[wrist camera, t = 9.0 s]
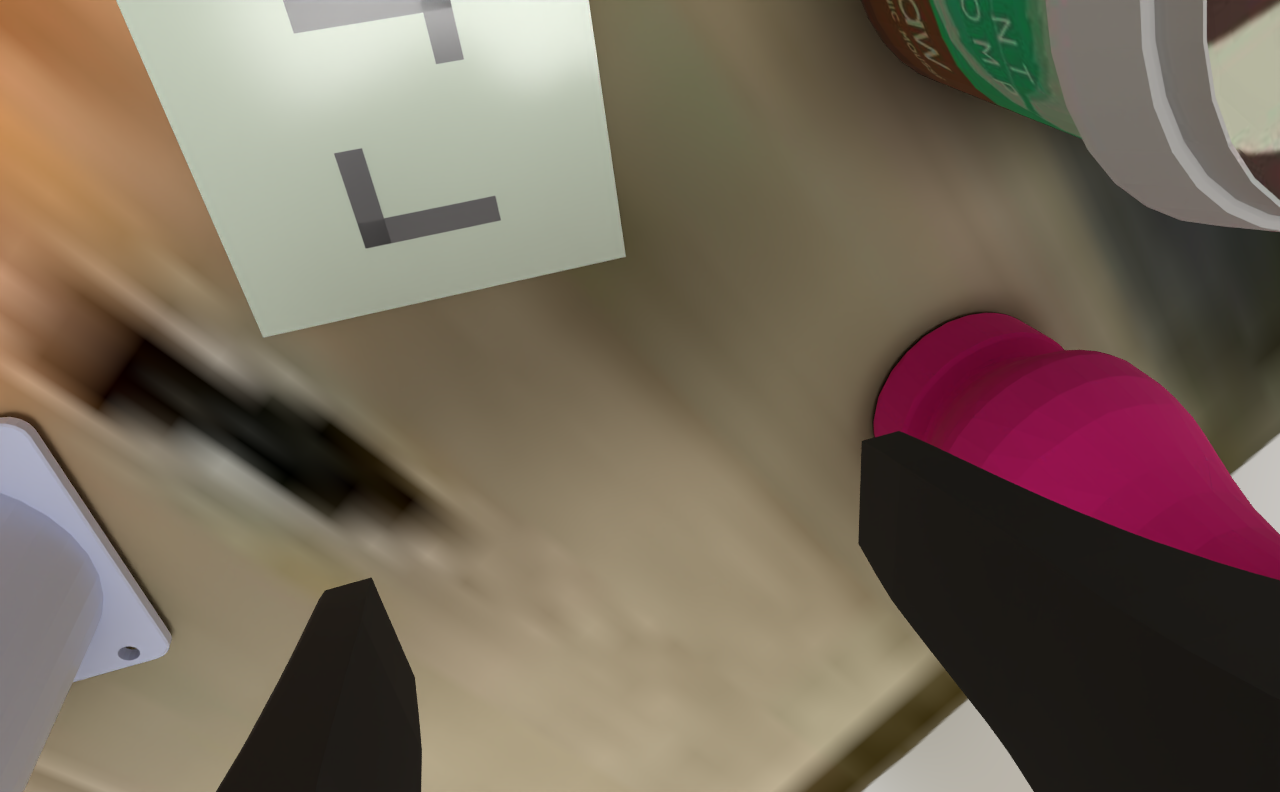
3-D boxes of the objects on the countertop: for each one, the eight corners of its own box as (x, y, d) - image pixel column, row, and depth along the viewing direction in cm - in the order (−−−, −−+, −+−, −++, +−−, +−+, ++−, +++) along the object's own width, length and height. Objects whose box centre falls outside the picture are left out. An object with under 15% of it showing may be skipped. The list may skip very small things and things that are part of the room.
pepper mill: (1090, 343, 26) (2341, 1047, 9) (960, 507, 28) (1771, 1306, 12) (950, 259, 23) (2483, 1105, 6) (816, 452, 25) (1653, 1450, 8)
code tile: (264, 333, 18) (263, 338, 18) (72, -111, 14) (66, -112, 13) (623, 253, 20) (625, 257, 20) (561, -174, 15) (563, -176, 15)
